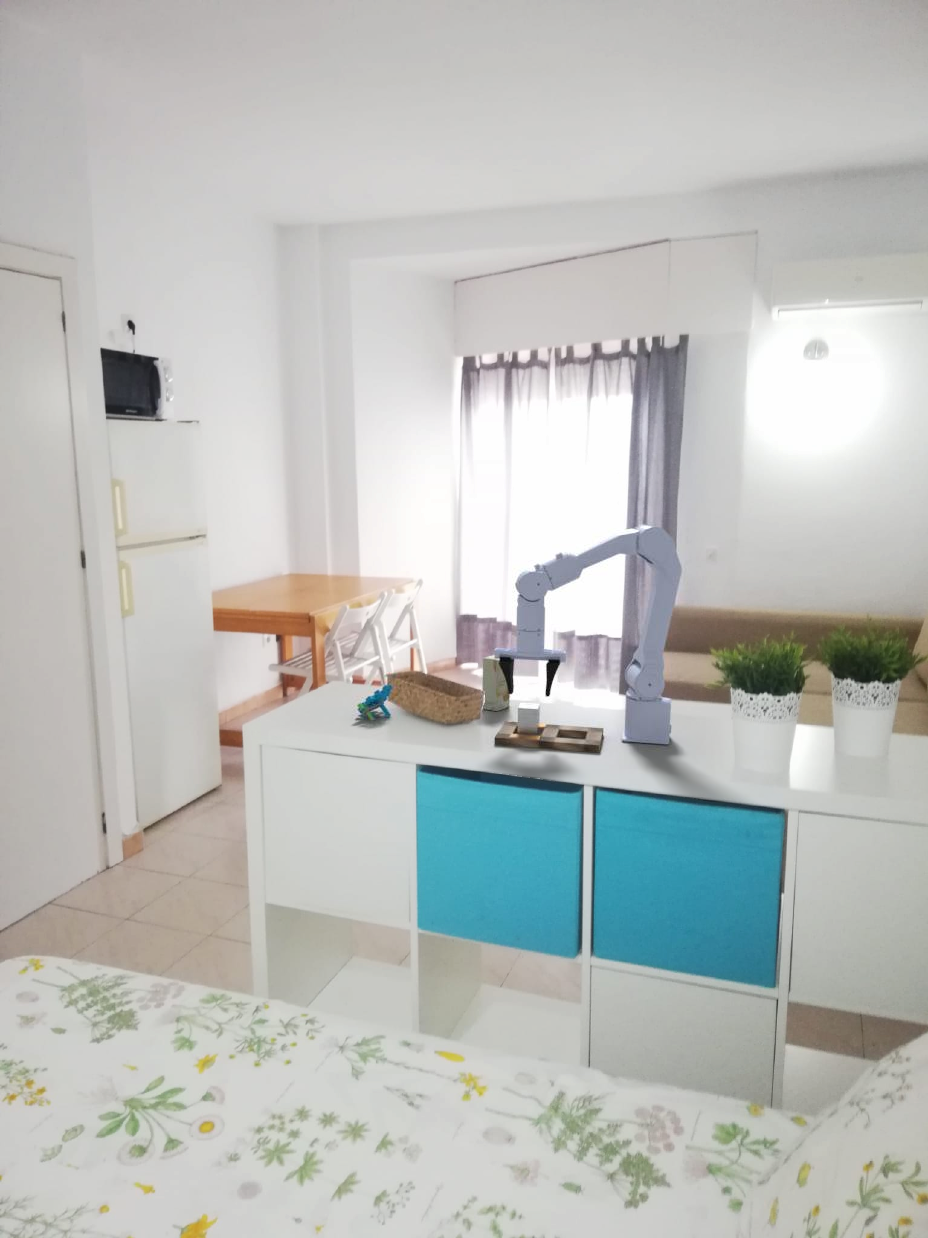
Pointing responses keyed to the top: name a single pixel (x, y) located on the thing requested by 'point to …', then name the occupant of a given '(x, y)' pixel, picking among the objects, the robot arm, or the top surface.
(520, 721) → the steel block
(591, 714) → the top surface
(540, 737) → the socket plate
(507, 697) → the skincare box
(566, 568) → the robot arm
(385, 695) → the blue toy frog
